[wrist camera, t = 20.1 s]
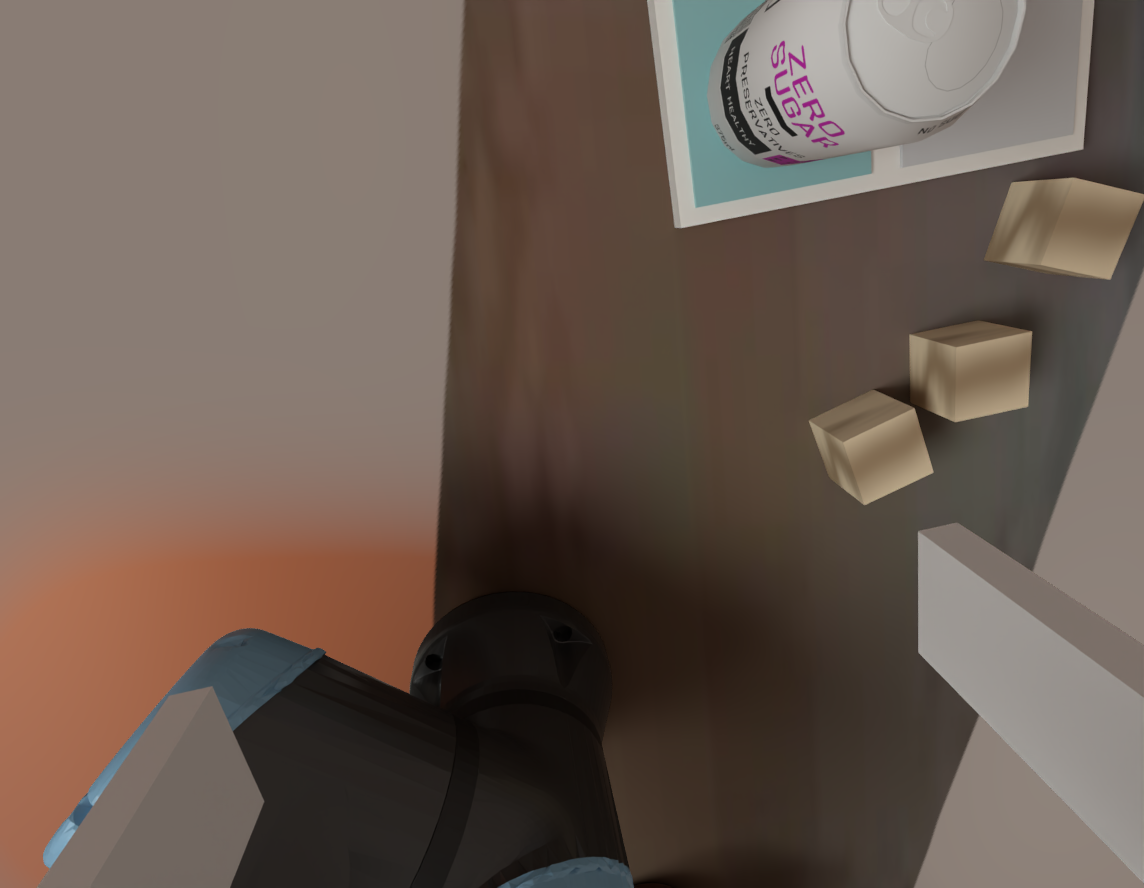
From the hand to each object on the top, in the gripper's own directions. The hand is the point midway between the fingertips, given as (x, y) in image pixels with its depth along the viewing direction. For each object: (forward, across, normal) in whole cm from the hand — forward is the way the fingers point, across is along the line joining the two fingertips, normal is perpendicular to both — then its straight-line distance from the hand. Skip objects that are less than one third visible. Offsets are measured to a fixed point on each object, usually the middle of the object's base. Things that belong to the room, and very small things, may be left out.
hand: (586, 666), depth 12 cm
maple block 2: (+33, -29, +7) cm, 44 cm away
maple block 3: (+33, -35, -1) cm, 48 cm away
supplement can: (+31, -17, -12) cm, 38 cm away
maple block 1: (+33, -22, +11) cm, 41 cm away
